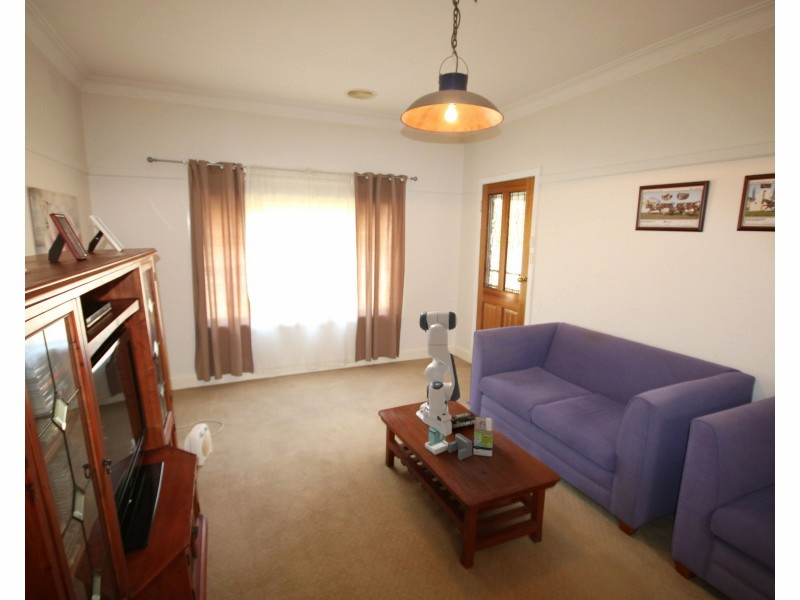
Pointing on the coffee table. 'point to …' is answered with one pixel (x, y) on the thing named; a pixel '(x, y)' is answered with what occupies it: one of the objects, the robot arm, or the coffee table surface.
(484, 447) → the tea box
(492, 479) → the coffee table surface
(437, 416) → the robot arm
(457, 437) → the block
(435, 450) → the tray
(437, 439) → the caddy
